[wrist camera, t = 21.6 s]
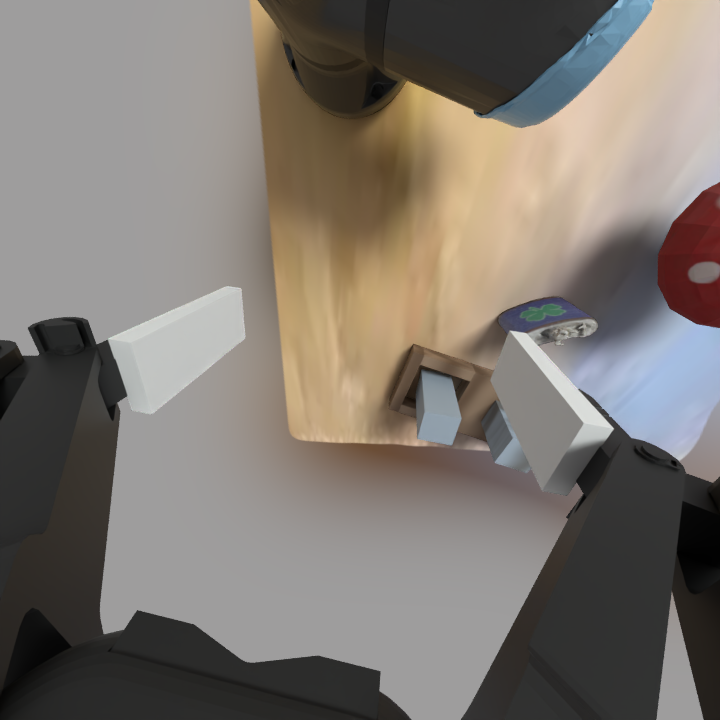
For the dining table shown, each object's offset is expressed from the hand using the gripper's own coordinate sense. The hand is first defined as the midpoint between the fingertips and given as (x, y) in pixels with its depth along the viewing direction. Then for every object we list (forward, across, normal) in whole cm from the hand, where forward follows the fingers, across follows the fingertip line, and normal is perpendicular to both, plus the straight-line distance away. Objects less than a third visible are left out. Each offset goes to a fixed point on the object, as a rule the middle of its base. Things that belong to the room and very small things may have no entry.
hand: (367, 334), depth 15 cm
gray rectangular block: (+32, +10, -21) cm, 39 cm away
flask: (+32, +21, -6) cm, 39 cm away
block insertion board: (+32, +16, -22) cm, 42 cm away
